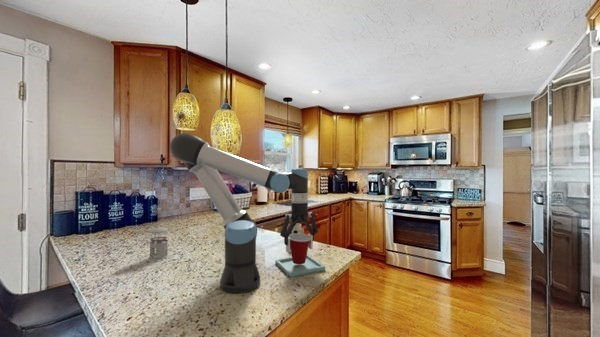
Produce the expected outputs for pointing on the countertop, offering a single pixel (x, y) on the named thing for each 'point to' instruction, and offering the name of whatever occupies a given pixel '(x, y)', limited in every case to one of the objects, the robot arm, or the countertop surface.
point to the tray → (299, 266)
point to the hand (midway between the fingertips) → (299, 250)
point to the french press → (158, 244)
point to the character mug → (297, 229)
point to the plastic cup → (299, 247)
